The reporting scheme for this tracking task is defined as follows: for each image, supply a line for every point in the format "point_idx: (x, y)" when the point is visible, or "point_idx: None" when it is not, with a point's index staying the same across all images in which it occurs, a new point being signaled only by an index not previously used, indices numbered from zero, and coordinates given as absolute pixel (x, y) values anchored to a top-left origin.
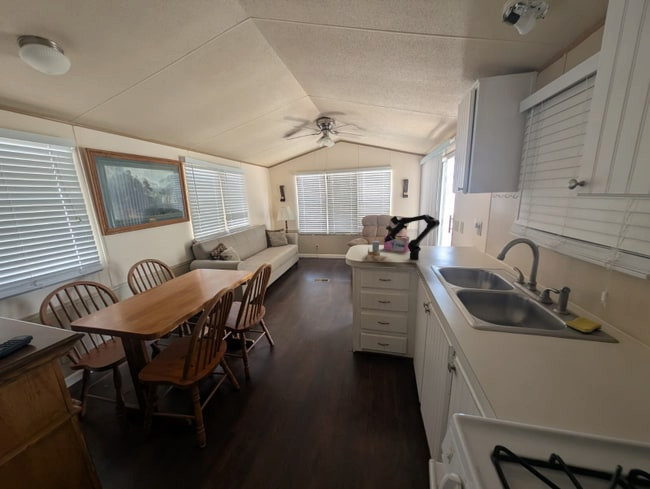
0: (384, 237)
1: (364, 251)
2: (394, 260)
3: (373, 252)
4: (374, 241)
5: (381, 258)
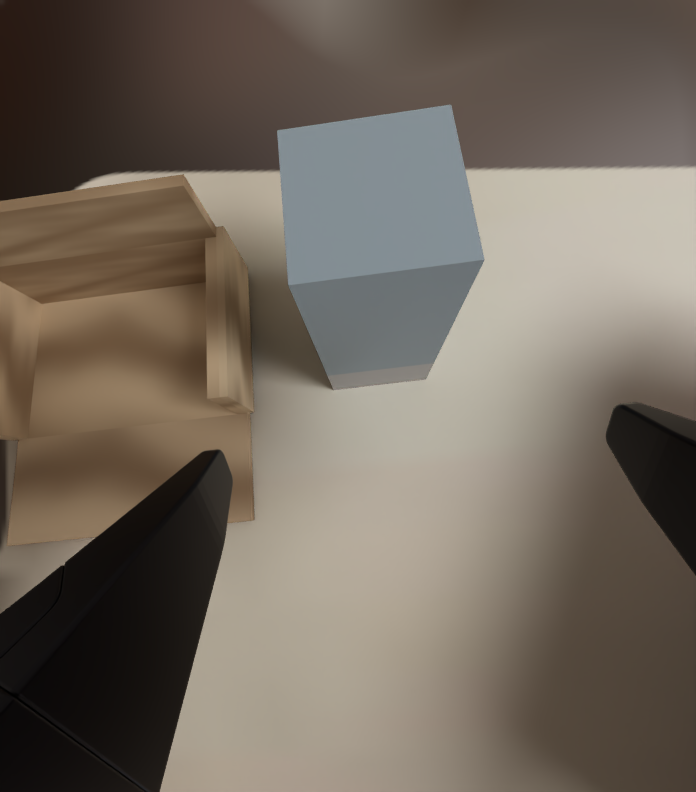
0: None
1: (506, 175)
2: None
3: (209, 304)
4: (376, 156)
5: (138, 453)
